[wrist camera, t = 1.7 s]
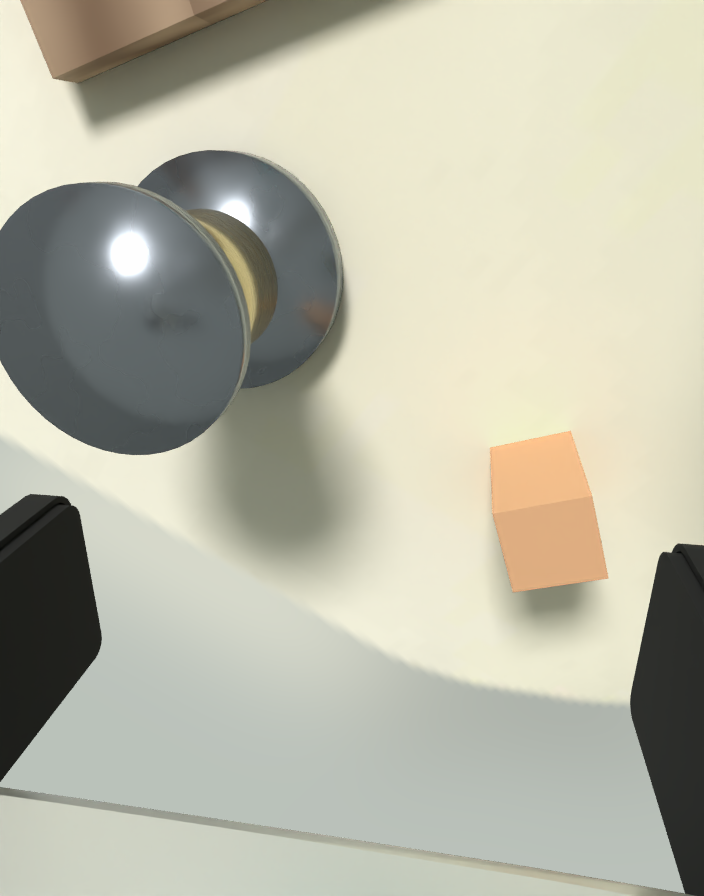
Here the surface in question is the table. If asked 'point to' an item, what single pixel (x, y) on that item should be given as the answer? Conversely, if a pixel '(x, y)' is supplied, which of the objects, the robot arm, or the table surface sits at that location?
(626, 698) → the table surface
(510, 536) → the light orange block
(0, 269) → the bobbin
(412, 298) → the table surface
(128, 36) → the notched board
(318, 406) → the table surface
